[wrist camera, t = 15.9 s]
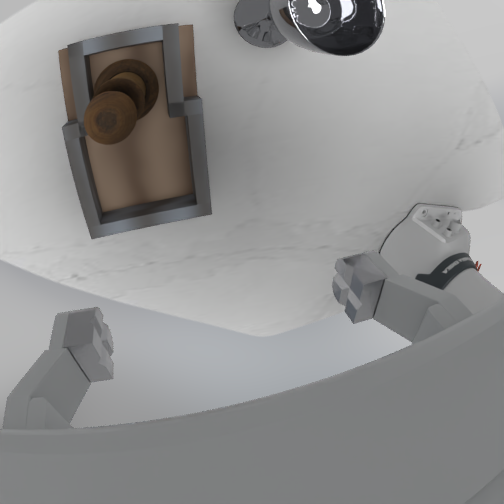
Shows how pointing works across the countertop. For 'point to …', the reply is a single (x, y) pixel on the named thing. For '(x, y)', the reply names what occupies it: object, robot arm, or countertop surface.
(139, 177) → the tray
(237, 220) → the countertop surface
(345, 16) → the wine glass
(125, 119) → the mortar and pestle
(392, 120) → the countertop surface
